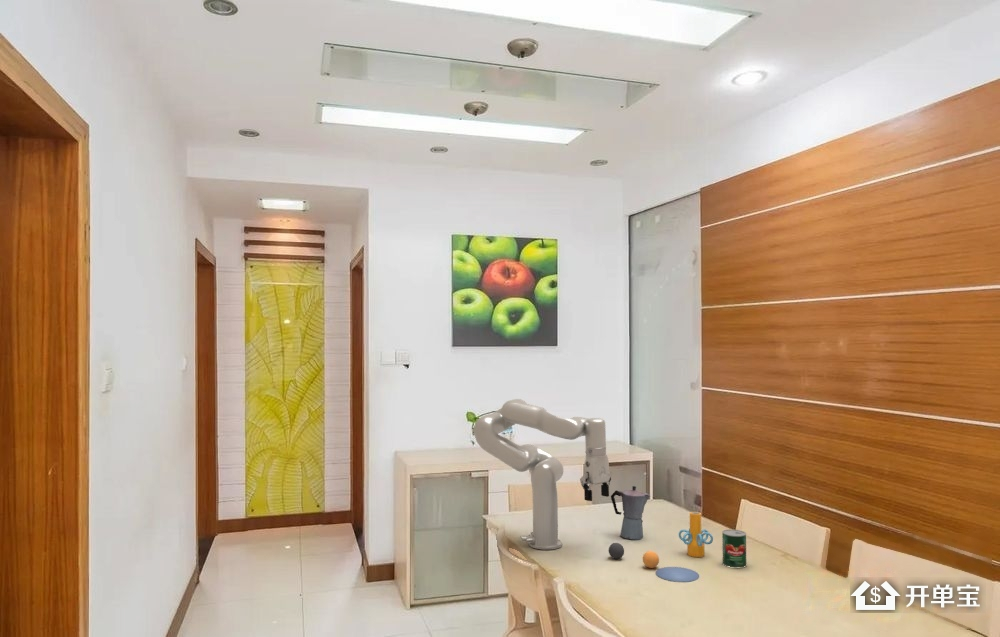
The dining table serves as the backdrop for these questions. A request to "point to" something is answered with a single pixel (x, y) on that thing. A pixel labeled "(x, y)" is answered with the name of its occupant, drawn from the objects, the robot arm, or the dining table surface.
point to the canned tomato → (734, 548)
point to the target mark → (677, 574)
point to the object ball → (650, 559)
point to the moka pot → (631, 512)
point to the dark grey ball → (616, 550)
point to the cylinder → (695, 536)
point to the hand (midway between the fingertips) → (596, 498)
